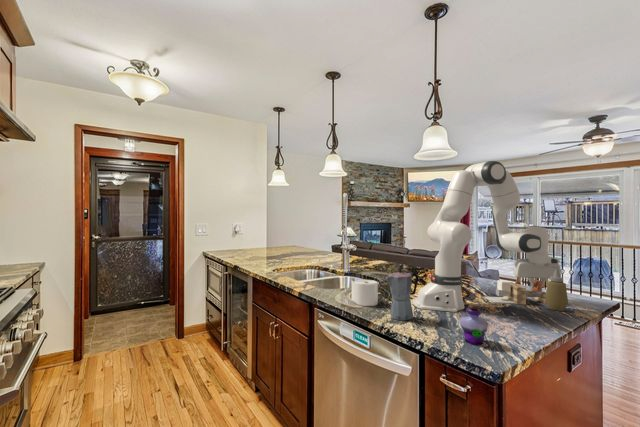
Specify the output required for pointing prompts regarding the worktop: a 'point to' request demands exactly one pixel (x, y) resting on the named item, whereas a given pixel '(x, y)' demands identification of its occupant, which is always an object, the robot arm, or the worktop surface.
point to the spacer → (504, 285)
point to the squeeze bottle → (556, 293)
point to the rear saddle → (542, 298)
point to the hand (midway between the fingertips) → (536, 287)
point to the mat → (500, 300)
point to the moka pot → (401, 294)
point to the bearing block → (517, 294)
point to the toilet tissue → (365, 292)
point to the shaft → (529, 293)
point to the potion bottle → (474, 326)
